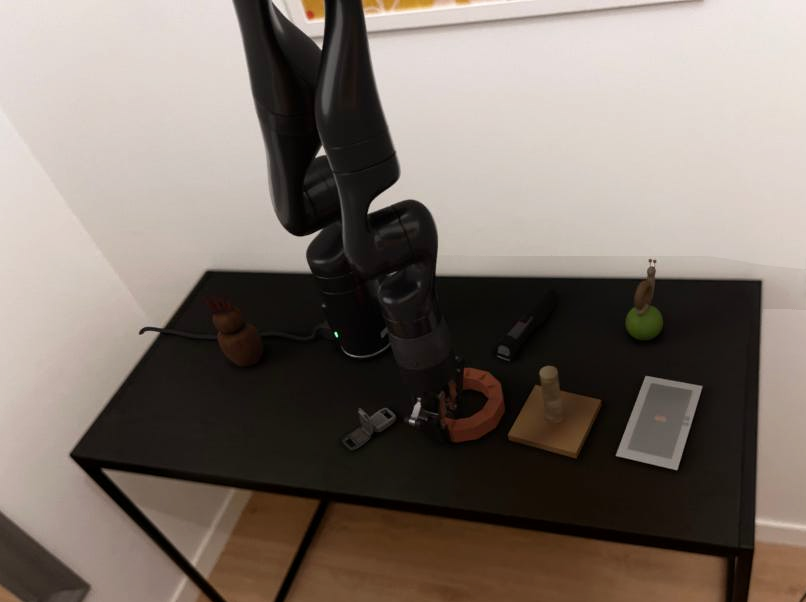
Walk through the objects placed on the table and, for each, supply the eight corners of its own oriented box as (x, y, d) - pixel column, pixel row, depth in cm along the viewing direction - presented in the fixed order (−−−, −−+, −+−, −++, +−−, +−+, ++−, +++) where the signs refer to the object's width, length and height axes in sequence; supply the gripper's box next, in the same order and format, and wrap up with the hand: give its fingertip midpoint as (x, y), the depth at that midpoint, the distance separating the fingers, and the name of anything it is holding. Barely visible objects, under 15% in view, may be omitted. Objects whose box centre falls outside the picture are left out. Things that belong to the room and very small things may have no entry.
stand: (508, 440, 99) (498, 390, 92) (536, 390, 105) (528, 339, 98) (576, 458, 95) (571, 408, 88) (601, 405, 101) (598, 353, 94)
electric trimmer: (564, 304, 118) (562, 289, 116) (513, 362, 110) (510, 347, 108) (544, 298, 120) (543, 283, 118) (493, 355, 112) (490, 340, 110)
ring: (409, 429, 104) (405, 418, 102) (447, 373, 111) (444, 361, 109) (482, 450, 99) (479, 438, 97) (517, 390, 106) (515, 378, 104)
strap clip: (387, 409, 108) (380, 390, 105) (398, 419, 106) (391, 400, 103) (341, 442, 105) (332, 423, 102) (352, 452, 103) (343, 434, 100)
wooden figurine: (225, 368, 123) (186, 302, 113) (243, 345, 126) (207, 279, 116) (256, 373, 120) (220, 306, 110) (274, 350, 124) (240, 283, 114)
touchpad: (615, 460, 93) (615, 450, 92) (645, 381, 102) (645, 370, 101) (677, 475, 90) (677, 465, 88) (702, 391, 99) (703, 380, 97)
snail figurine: (670, 324, 110) (671, 261, 101) (655, 351, 106) (655, 288, 98) (636, 316, 112) (635, 255, 104) (620, 342, 109) (618, 281, 101)
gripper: (423, 307, 96) (447, 394, 107) (369, 377, 88) (402, 463, 99) (472, 316, 92) (492, 405, 104) (421, 391, 84) (449, 478, 96)
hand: (448, 433), depth 102 cm, fingers closed on ring, 2 cm apart
